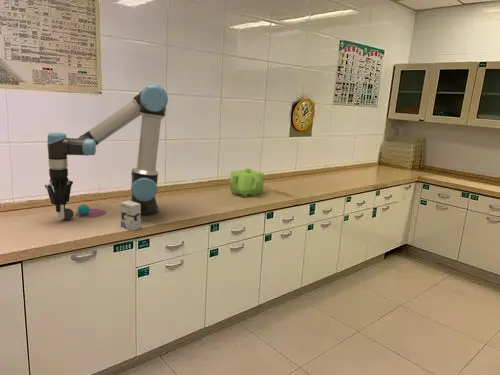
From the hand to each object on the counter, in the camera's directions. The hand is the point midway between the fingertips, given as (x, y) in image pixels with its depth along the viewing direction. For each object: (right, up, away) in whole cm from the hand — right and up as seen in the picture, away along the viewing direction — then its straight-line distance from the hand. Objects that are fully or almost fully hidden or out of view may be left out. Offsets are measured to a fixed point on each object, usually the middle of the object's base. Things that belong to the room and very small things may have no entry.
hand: (61, 217), depth 175 cm
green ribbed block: (+85, +9, +73) cm, 112 cm away
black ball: (+1, +2, +3) cm, 4 cm away
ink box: (+32, -5, -1) cm, 33 cm away
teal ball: (+6, +3, +11) cm, 13 cm away
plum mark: (+7, +1, +15) cm, 17 cm away
